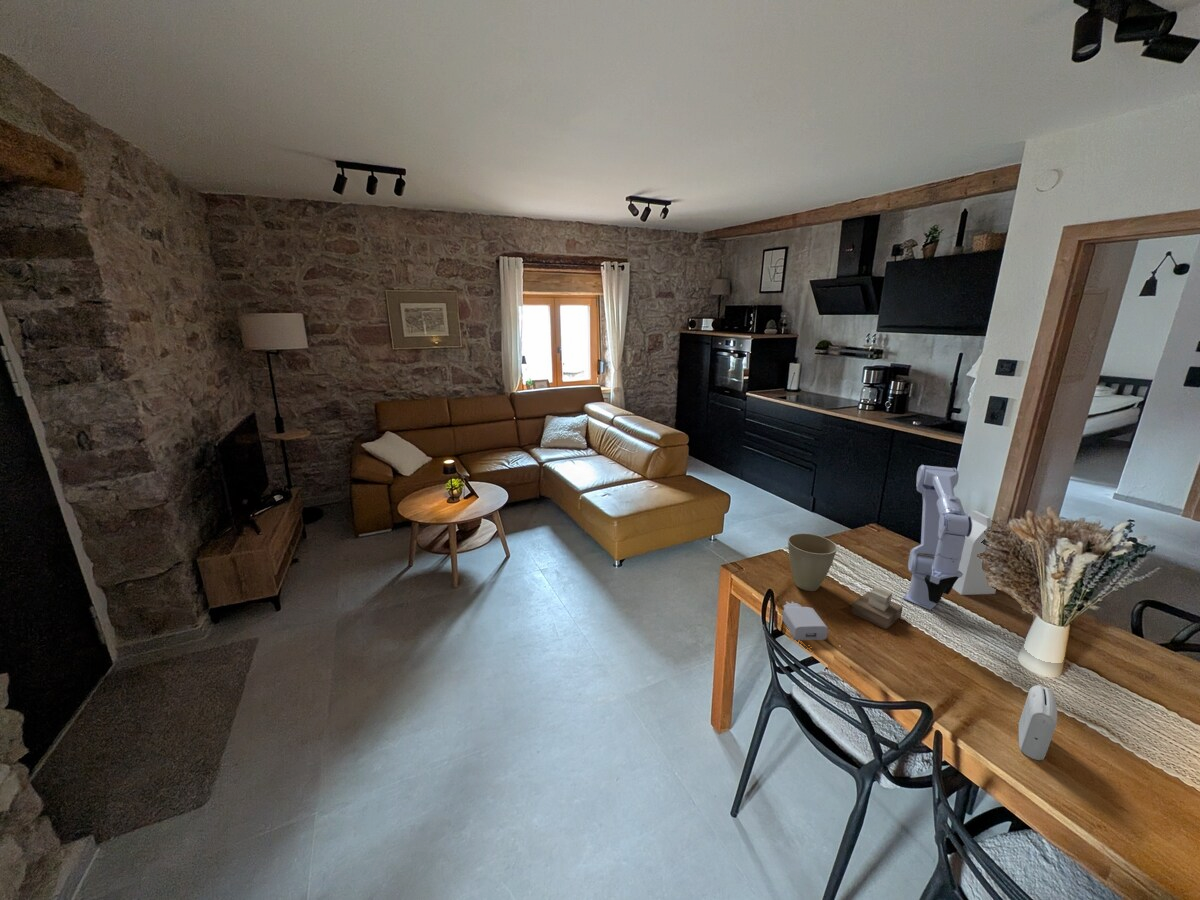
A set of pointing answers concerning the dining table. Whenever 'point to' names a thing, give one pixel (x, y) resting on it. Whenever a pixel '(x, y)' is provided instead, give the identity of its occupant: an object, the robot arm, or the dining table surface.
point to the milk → (974, 559)
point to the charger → (803, 622)
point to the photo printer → (1037, 722)
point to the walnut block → (876, 612)
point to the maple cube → (880, 598)
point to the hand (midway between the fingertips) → (938, 597)
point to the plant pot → (810, 559)
